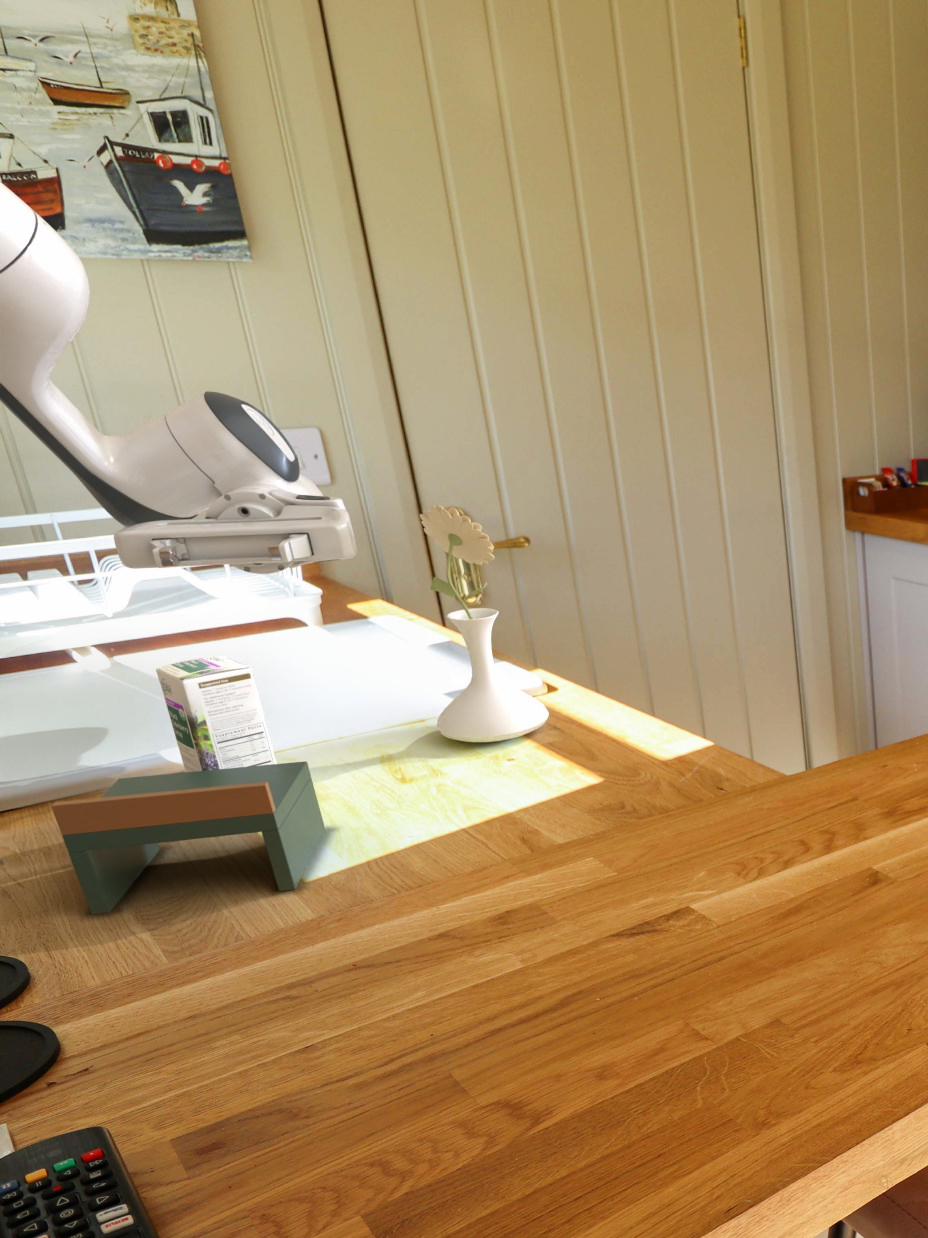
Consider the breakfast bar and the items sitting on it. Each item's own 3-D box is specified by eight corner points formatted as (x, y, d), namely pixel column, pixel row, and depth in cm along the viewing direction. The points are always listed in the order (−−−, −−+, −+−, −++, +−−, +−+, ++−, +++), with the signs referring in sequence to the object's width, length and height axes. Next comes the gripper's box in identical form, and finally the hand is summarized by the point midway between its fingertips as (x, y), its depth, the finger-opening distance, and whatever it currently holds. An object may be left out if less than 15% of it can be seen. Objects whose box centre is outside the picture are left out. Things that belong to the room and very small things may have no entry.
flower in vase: (570, 732, 131) (532, 508, 121) (468, 759, 123) (419, 522, 113) (513, 706, 138) (474, 493, 128) (414, 730, 130) (363, 505, 120)
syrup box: (196, 814, 109) (149, 666, 103) (264, 795, 113) (223, 652, 107) (224, 830, 106) (177, 679, 100) (293, 809, 111) (252, 663, 105)
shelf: (91, 915, 92) (50, 805, 88) (143, 851, 102) (109, 751, 98) (295, 890, 96) (265, 785, 92) (326, 831, 106) (300, 734, 102)
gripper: (132, 503, 119) (80, 528, 107) (358, 496, 126) (332, 519, 114) (151, 564, 122) (102, 595, 110) (371, 554, 128) (347, 582, 117)
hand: (221, 556), depth 112 cm, fingers open, 8 cm apart
